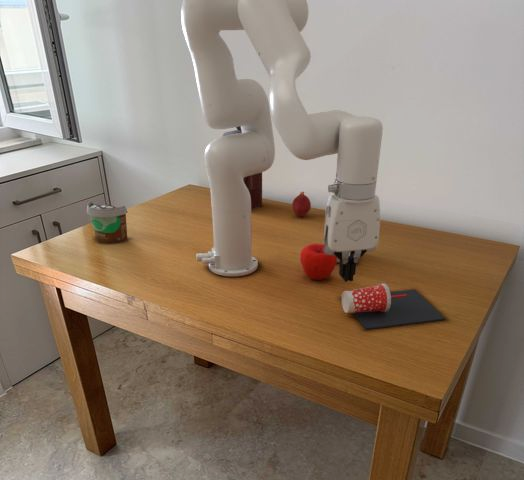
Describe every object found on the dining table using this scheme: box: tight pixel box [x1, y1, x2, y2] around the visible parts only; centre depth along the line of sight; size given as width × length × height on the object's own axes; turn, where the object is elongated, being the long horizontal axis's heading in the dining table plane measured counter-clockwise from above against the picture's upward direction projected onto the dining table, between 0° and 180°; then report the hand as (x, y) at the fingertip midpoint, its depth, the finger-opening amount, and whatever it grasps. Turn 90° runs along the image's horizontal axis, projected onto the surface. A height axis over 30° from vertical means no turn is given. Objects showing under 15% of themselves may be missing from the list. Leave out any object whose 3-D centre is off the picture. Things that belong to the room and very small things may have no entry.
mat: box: [352, 289, 446, 331], centre depth 113 cm, size 18×14×1 cm
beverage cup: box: [341, 283, 407, 314], centre depth 110 cm, size 6×6×14 cm
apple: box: [299, 243, 337, 281], centre depth 124 cm, size 9×9×8 cm
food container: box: [86, 200, 128, 244], centre depth 144 cm, size 12×6×10 cm, turn 68°
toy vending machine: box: [222, 126, 263, 211], centre depth 165 cm, size 9×11×28 cm
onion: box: [292, 190, 312, 218], centre depth 162 cm, size 6×6×8 cm
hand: (346, 278), depth 106 cm, fingers closed
